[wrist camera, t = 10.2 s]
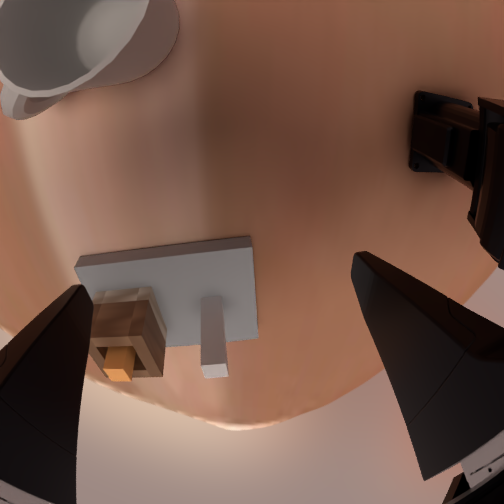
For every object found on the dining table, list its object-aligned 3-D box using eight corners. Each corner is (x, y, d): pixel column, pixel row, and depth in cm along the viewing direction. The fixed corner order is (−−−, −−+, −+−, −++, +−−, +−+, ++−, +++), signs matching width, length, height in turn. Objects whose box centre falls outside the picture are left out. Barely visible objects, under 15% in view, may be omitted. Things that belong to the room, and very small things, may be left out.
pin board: (249, 236, 22) (266, 313, 16) (256, 326, 28) (269, 398, 21) (80, 256, 21) (43, 328, 15) (118, 337, 27) (104, 405, 20)
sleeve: (151, 286, 22) (141, 335, 18) (167, 329, 25) (162, 376, 21) (95, 291, 22) (78, 338, 17) (116, 332, 24) (106, 377, 20)
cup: (205, 31, 14) (197, -9, 6) (90, 136, 16) (17, 185, 9) (136, -34, 10) (88, -91, 3) (31, 73, 13) (-57, 92, 5)
